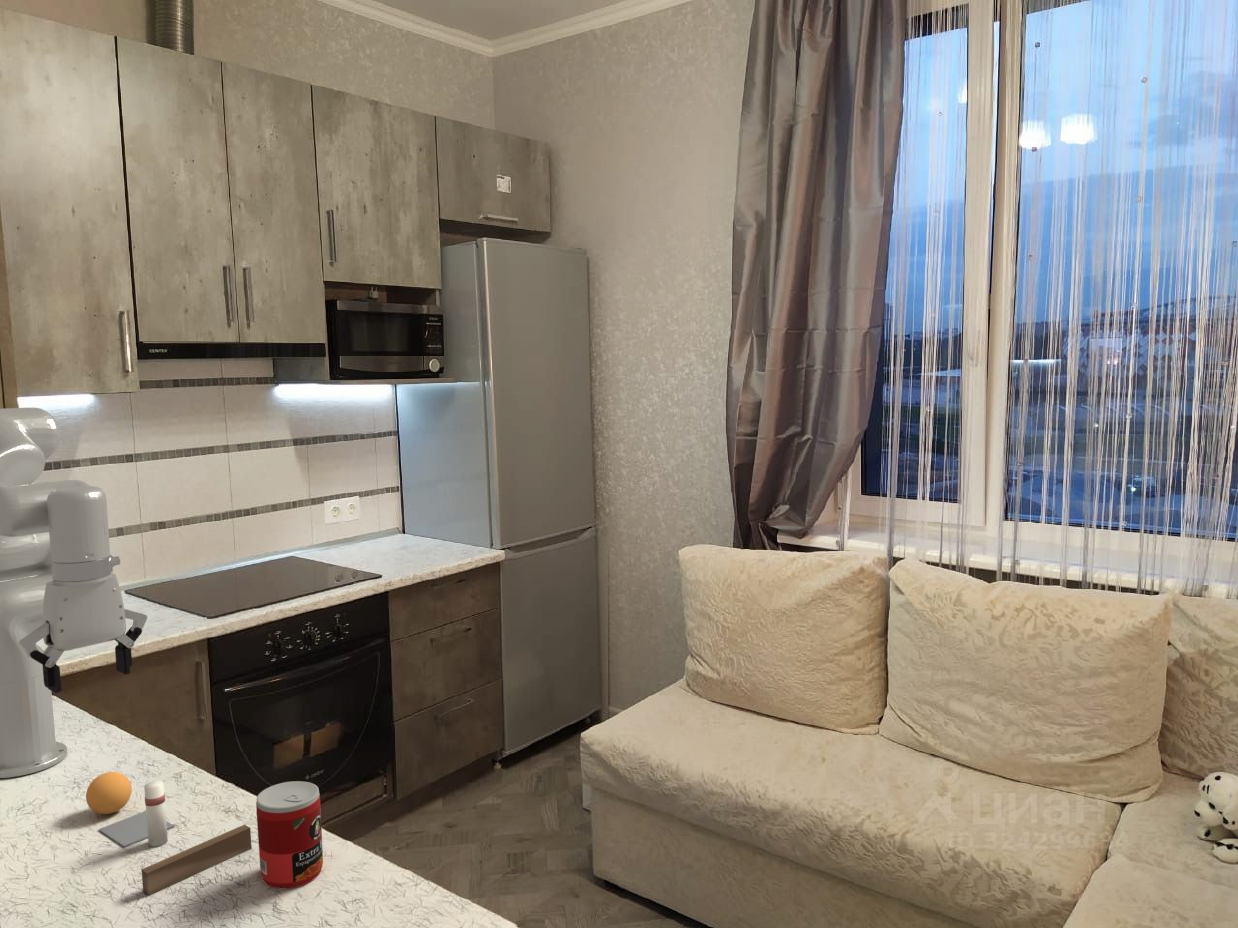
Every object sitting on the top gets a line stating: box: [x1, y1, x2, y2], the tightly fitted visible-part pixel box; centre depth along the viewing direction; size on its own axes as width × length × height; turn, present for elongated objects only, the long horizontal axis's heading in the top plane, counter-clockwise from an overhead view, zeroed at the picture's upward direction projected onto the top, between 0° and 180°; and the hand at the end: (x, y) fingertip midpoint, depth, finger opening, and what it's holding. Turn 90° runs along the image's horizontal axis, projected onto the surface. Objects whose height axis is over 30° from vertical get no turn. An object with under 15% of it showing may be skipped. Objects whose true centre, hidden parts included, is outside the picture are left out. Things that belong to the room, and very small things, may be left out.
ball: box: [85, 771, 133, 815], centre depth 136 cm, size 6×6×6 cm
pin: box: [143, 780, 169, 848], centre depth 126 cm, size 2×2×8 cm
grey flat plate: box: [98, 810, 175, 848], centre depth 131 cm, size 8×7×1 cm
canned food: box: [255, 780, 324, 890], centre depth 118 cm, size 8×8×11 cm
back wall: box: [141, 824, 253, 897], centre depth 120 cm, size 2×14×3 cm, turn 142°
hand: (89, 681), depth 135 cm, fingers open, 9 cm apart
